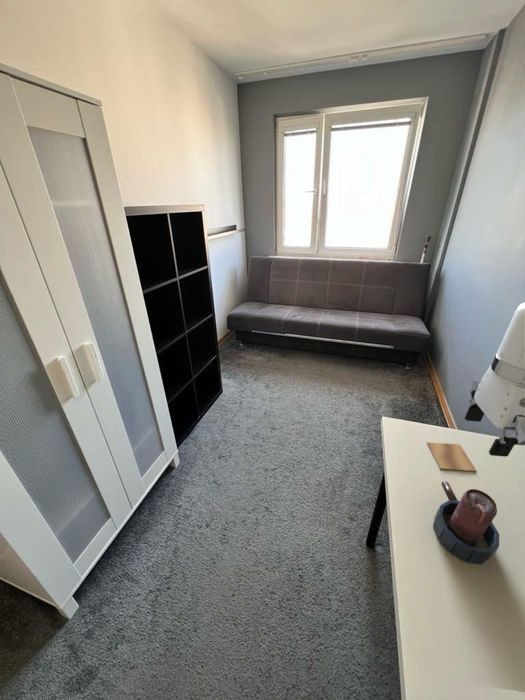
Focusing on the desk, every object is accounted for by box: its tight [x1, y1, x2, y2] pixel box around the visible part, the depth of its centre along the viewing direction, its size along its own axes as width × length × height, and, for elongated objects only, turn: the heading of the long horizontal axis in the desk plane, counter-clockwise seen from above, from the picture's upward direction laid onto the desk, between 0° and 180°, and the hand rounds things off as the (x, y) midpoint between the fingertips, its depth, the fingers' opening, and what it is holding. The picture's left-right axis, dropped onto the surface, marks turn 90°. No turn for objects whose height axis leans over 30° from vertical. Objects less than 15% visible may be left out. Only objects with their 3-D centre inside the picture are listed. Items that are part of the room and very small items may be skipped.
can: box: [446, 488, 498, 548], centre depth 63 cm, size 6×6×14 cm
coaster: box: [426, 441, 477, 473], centre depth 87 cm, size 10×10×1 cm
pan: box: [432, 480, 500, 565], centre depth 68 cm, size 12×18×5 cm, turn 173°
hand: (484, 436), depth 59 cm, fingers open, 9 cm apart
